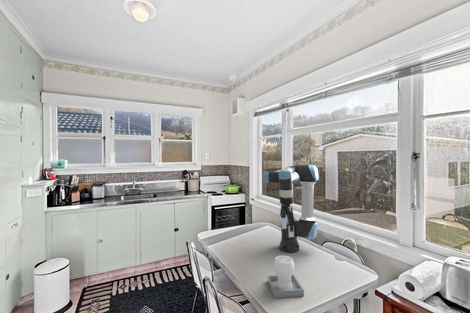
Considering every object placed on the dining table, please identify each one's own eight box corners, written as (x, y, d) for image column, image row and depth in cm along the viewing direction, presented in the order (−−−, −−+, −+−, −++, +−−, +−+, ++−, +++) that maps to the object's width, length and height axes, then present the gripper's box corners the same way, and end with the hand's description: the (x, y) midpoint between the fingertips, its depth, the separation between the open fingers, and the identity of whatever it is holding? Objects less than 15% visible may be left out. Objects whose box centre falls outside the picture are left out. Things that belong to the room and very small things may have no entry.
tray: (267, 281, 130) (267, 275, 130) (293, 279, 131) (293, 274, 131) (274, 298, 114) (274, 291, 114) (304, 295, 115) (303, 289, 115)
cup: (291, 281, 128) (290, 254, 128) (297, 292, 117) (296, 263, 117) (273, 281, 128) (272, 255, 128) (277, 293, 117) (276, 264, 117)
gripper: (274, 193, 145) (275, 225, 145) (286, 201, 120) (288, 241, 120) (285, 192, 145) (287, 225, 146) (300, 200, 120) (301, 240, 121)
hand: (287, 232), depth 133 cm, fingers open, 13 cm apart
